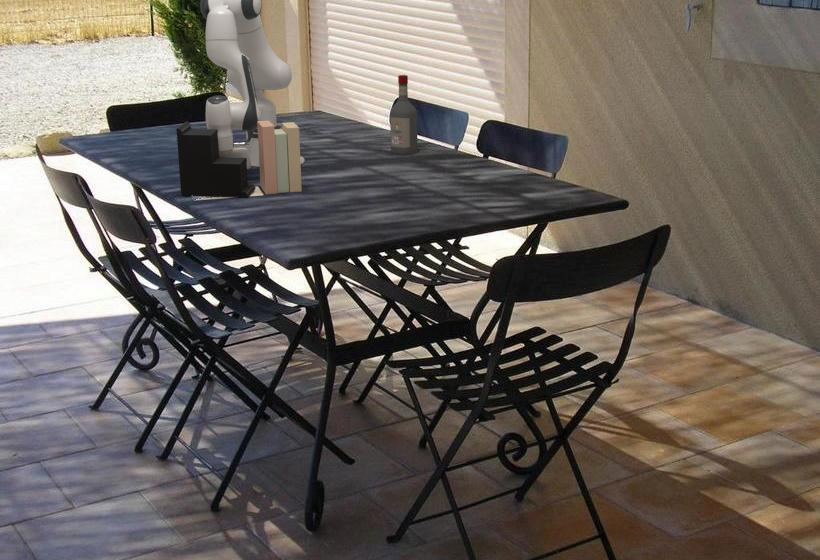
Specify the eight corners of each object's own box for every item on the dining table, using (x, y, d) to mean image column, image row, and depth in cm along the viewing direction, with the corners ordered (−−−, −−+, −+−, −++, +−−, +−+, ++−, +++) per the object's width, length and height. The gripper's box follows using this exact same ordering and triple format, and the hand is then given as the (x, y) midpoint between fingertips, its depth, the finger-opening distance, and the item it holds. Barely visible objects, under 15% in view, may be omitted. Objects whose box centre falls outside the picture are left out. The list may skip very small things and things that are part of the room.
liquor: (407, 155, 472) (406, 77, 463) (388, 153, 477) (386, 76, 468) (420, 151, 479) (419, 75, 471) (401, 149, 484) (399, 73, 475)
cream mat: (257, 187, 424) (257, 186, 424) (264, 196, 411) (263, 195, 411) (188, 192, 418) (188, 191, 418) (192, 201, 405) (192, 200, 405)
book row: (295, 184, 426) (293, 119, 419) (301, 191, 415) (299, 124, 408) (260, 187, 423) (257, 121, 416) (265, 194, 412) (262, 126, 405)
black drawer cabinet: (256, 189, 417) (251, 121, 409) (247, 197, 407) (243, 129, 399) (190, 187, 421) (184, 121, 413) (180, 196, 411) (174, 128, 402)
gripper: (249, 140, 425) (251, 178, 429) (190, 144, 420) (192, 183, 424) (251, 143, 419) (254, 182, 423) (191, 147, 414) (194, 187, 418)
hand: (222, 183), depth 424 cm, fingers closed
